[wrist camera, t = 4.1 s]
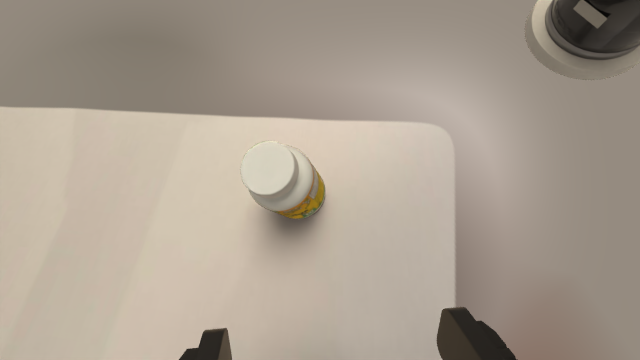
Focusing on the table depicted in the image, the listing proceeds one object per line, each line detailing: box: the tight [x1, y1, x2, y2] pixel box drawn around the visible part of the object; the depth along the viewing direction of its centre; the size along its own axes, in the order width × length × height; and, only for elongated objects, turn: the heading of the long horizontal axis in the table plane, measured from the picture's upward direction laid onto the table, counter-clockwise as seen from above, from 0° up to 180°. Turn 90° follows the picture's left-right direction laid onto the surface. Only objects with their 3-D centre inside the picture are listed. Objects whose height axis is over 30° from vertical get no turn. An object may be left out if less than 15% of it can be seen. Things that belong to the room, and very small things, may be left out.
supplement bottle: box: [240, 141, 325, 219], centre depth 25 cm, size 5×5×10 cm
